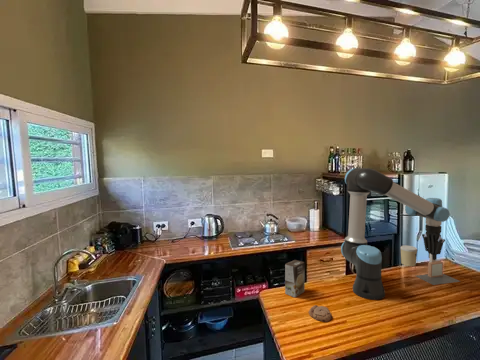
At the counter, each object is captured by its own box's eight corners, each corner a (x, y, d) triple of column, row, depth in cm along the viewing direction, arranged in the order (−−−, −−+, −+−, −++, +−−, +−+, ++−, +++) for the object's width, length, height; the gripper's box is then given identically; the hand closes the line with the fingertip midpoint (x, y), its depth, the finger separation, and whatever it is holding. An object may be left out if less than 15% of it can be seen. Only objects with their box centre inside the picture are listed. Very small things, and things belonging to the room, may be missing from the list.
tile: (431, 277, 153) (431, 263, 153) (427, 275, 155) (428, 262, 155) (442, 275, 155) (443, 262, 154) (439, 274, 157) (439, 261, 156)
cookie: (319, 325, 114) (319, 318, 113) (304, 312, 123) (304, 306, 123) (337, 319, 118) (337, 312, 117) (321, 307, 127) (321, 301, 127)
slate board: (433, 287, 144) (433, 284, 144) (414, 277, 156) (414, 275, 156) (460, 283, 147) (460, 281, 147) (440, 274, 159) (440, 272, 159)
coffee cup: (419, 268, 168) (420, 250, 167) (403, 268, 170) (403, 249, 169) (413, 263, 177) (413, 245, 176) (397, 262, 179) (398, 245, 178)
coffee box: (295, 298, 136) (294, 267, 135) (284, 293, 140) (284, 263, 139) (305, 291, 142) (304, 262, 141) (294, 287, 147) (294, 259, 146)
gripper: (449, 227, 149) (448, 268, 151) (428, 222, 162) (427, 260, 163) (438, 227, 148) (437, 269, 149) (418, 222, 160) (417, 261, 162)
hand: (432, 264), depth 156 cm, fingers closed
